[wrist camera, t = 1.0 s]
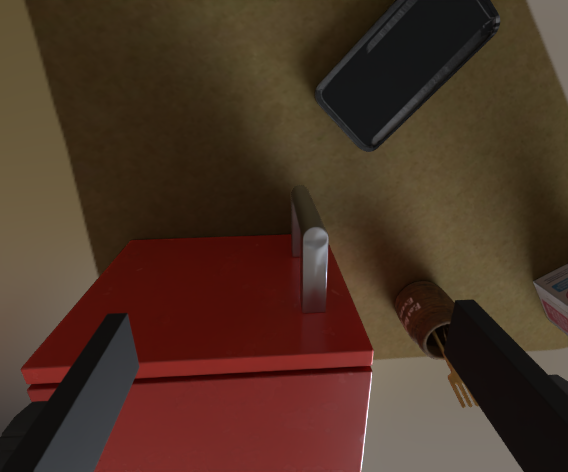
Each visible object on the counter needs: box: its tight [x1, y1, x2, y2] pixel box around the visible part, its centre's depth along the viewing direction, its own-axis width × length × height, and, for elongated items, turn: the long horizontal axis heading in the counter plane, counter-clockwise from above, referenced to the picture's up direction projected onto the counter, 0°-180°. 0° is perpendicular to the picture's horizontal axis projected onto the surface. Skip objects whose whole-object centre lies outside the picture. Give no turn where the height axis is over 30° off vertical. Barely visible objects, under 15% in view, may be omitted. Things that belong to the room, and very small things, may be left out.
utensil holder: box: [395, 281, 479, 408], centre depth 35 cm, size 6×6×12 cm
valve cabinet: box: [27, 366, 372, 472], centre depth 31 cm, size 12×20×18 cm, turn 91°
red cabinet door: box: [21, 185, 374, 384], centre depth 27 cm, size 8×20×18 cm, turn 91°
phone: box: [315, 0, 500, 152], centre depth 30 cm, size 8×1×15 cm
